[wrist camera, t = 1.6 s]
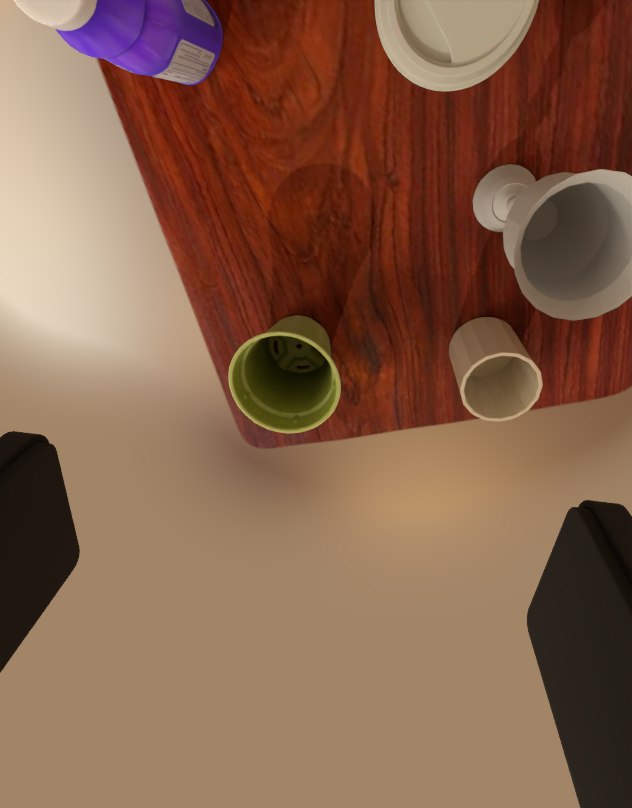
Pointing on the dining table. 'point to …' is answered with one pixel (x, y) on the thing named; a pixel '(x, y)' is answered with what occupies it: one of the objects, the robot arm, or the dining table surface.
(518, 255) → the chalice
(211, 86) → the dining table surface
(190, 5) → the bottle
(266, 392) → the plant pot
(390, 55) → the coffee cup
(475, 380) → the paper cup
